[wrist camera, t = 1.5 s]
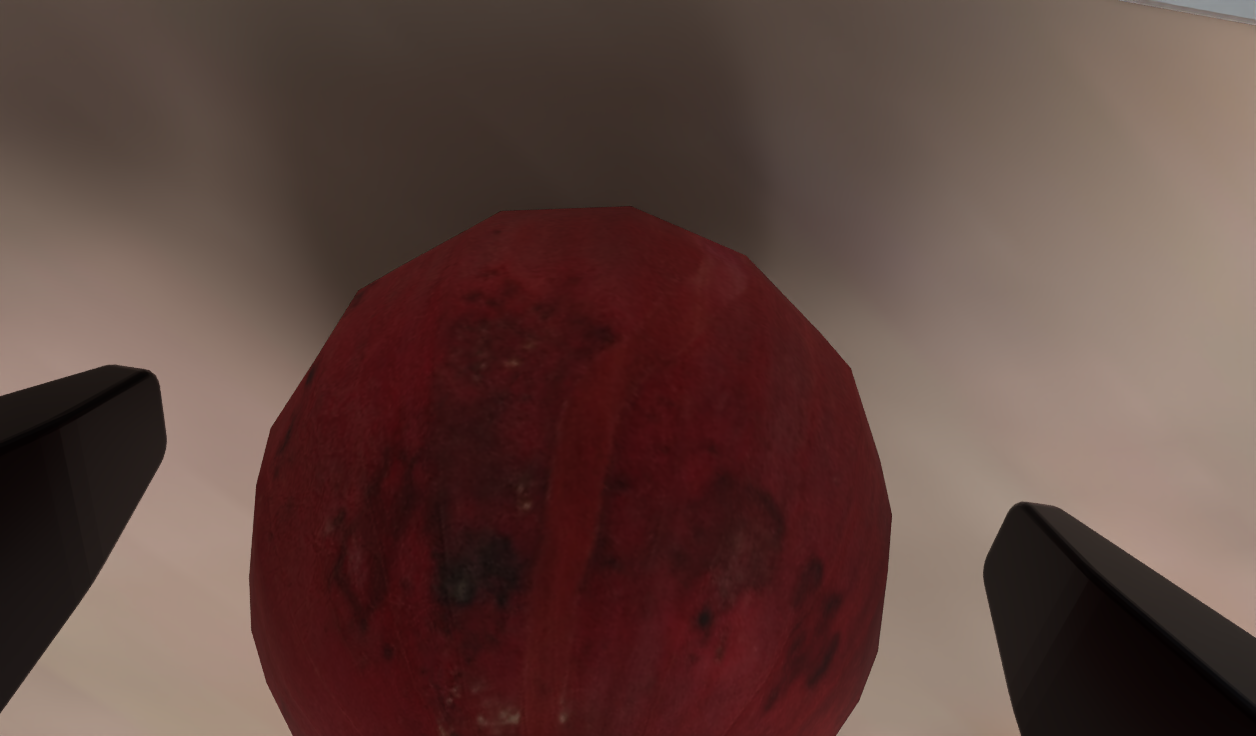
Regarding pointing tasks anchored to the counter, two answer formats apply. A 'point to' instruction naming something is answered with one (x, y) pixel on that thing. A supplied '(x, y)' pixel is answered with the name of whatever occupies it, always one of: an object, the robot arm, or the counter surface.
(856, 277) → the counter surface
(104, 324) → the counter surface
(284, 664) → the onion
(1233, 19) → the bin
